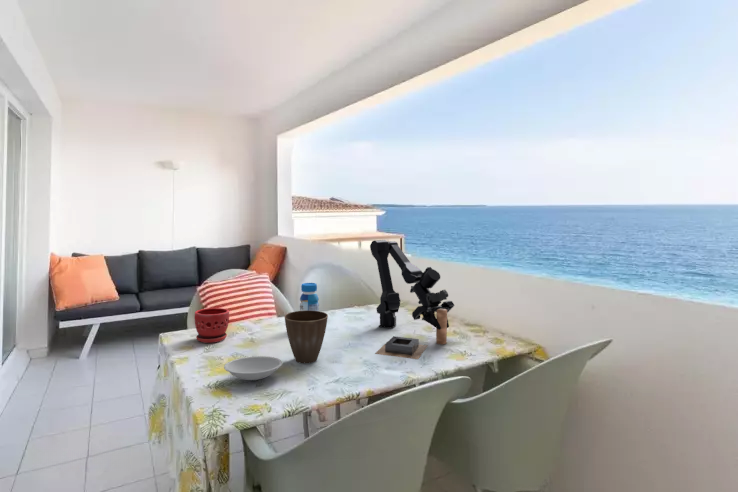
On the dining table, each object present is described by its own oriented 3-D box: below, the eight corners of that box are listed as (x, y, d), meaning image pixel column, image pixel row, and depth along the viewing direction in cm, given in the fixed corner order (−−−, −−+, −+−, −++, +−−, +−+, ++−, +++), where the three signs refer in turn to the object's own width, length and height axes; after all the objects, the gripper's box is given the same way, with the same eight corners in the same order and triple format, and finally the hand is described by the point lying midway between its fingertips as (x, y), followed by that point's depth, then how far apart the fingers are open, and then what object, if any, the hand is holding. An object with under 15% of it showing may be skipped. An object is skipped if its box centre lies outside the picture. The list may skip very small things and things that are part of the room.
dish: (285, 370, 141) (285, 355, 140) (279, 388, 126) (278, 372, 126) (231, 371, 139) (230, 356, 139) (218, 390, 125) (217, 373, 125)
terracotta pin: (435, 346, 165) (435, 310, 164) (437, 343, 169) (437, 308, 168) (445, 347, 164) (446, 311, 162) (447, 344, 167) (447, 309, 166)
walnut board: (374, 356, 154) (374, 353, 154) (388, 343, 169) (388, 340, 169) (417, 362, 148) (417, 359, 148) (428, 347, 163) (428, 345, 163)
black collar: (385, 352, 155) (385, 343, 155) (393, 343, 165) (393, 336, 164) (411, 355, 152) (411, 347, 152) (418, 346, 161) (418, 339, 161)
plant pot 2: (329, 352, 158) (329, 310, 156) (326, 367, 143) (326, 320, 141) (288, 353, 157) (288, 310, 156) (281, 368, 142) (281, 321, 141)
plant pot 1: (218, 345, 165) (217, 315, 164) (188, 343, 168) (187, 313, 167) (235, 335, 178) (235, 307, 177) (207, 334, 181) (206, 306, 180)
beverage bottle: (317, 331, 185) (317, 285, 183) (298, 331, 185) (297, 285, 183) (320, 325, 193) (320, 282, 191) (301, 325, 193) (301, 282, 191)
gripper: (417, 285, 162) (437, 320, 154) (451, 281, 173) (472, 313, 165) (403, 302, 169) (422, 336, 161) (437, 296, 180) (456, 328, 172)
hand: (444, 328), depth 165 cm, fingers closed on terracotta pin, 4 cm apart
